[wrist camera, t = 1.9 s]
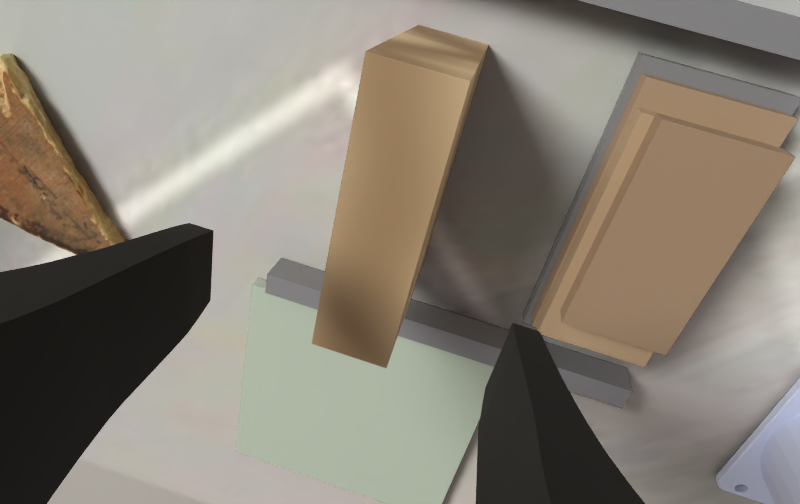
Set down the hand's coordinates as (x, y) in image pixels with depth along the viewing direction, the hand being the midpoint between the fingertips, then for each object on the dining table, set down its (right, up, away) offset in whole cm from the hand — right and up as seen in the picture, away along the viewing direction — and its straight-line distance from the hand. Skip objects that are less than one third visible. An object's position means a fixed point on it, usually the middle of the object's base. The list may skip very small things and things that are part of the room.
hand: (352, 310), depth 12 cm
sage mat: (-1, -7, +15) cm, 16 cm away
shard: (-15, +6, +12) cm, 21 cm away
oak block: (+2, +5, +8) cm, 10 cm away
